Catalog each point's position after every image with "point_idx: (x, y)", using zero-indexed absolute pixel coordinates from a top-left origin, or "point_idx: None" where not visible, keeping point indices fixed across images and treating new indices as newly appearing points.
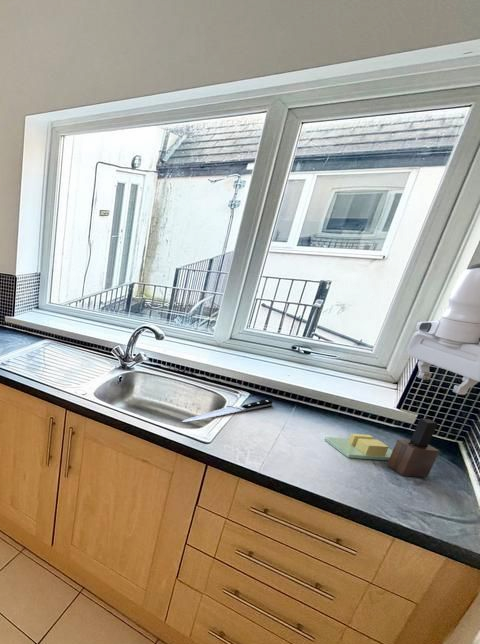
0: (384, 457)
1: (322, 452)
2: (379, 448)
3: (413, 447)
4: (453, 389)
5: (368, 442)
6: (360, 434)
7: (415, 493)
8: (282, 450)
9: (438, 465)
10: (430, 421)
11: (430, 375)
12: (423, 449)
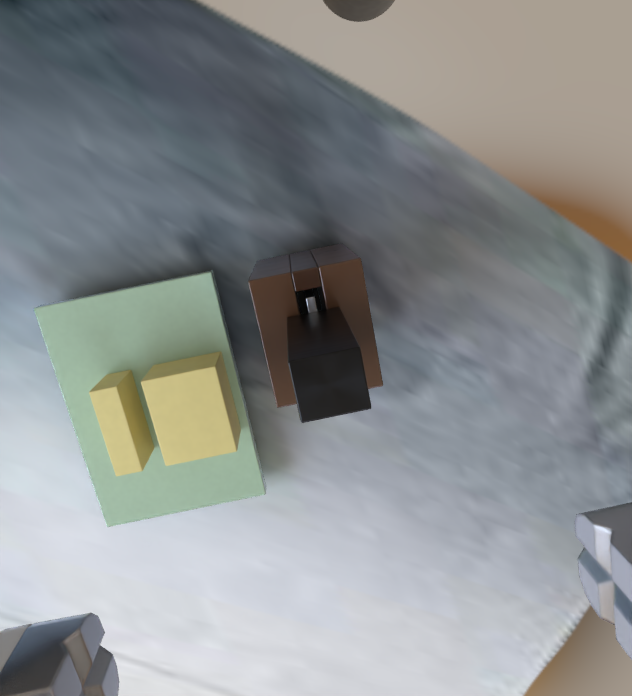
0: (231, 355)
1: (224, 544)
2: (225, 398)
3: None
4: (608, 616)
5: (199, 440)
6: (106, 437)
7: (464, 342)
8: (267, 674)
9: (154, 88)
10: (337, 380)
11: (70, 669)
12: (371, 338)
